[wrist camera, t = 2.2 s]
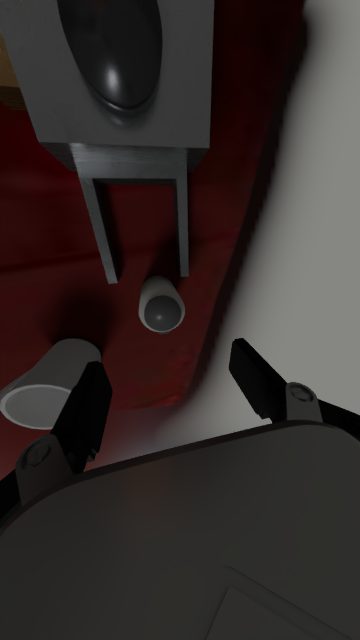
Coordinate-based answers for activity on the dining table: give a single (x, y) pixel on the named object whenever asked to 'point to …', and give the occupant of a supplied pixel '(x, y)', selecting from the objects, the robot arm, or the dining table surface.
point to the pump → (160, 305)
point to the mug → (47, 384)
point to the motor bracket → (114, 94)
